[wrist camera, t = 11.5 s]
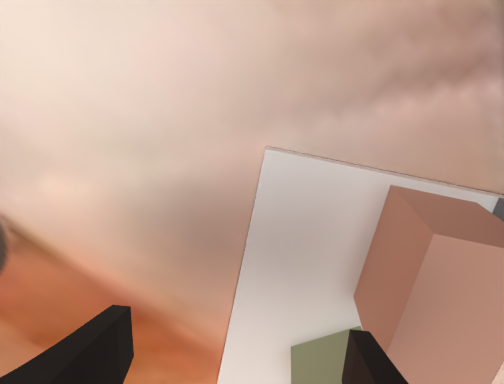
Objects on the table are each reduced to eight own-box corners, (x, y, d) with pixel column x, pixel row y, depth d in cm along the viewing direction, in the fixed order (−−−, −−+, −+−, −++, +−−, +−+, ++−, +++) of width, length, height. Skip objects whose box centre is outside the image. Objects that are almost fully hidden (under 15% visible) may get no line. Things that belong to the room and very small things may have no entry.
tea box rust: (479, 203, 19) (561, 260, 13) (432, 313, 21) (485, 403, 16) (390, 184, 19) (433, 233, 13) (353, 296, 21) (376, 378, 16)
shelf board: (509, 196, 19) (539, 213, 17) (383, 474, 27) (392, 512, 24) (266, 145, 20) (263, 155, 18) (207, 434, 27) (199, 467, 25)
